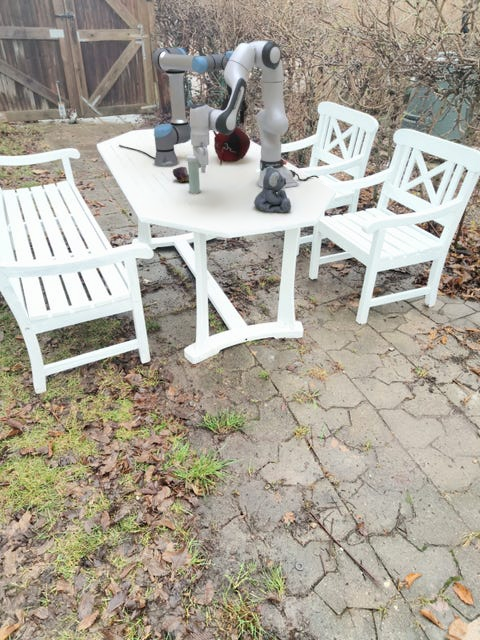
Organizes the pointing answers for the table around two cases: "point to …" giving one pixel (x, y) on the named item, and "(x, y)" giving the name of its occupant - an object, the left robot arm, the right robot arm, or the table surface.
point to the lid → (191, 158)
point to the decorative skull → (231, 145)
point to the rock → (181, 174)
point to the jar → (193, 177)
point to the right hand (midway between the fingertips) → (201, 169)
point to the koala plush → (273, 193)
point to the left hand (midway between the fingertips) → (234, 125)
